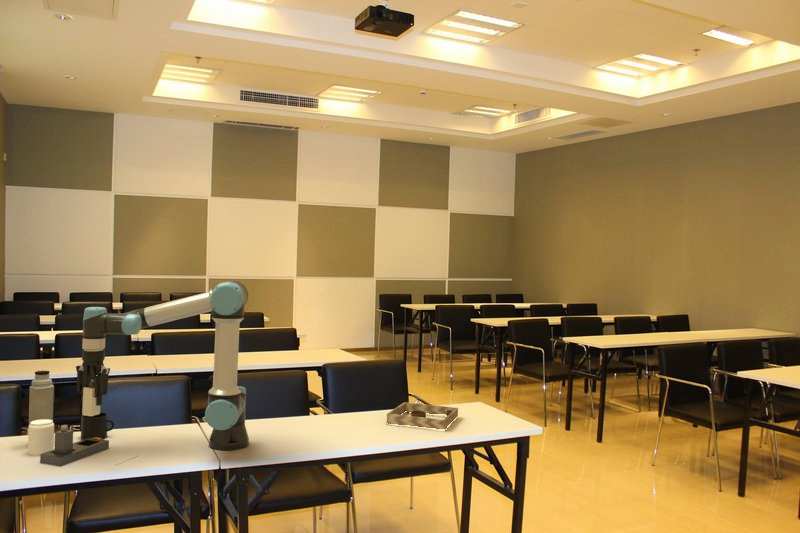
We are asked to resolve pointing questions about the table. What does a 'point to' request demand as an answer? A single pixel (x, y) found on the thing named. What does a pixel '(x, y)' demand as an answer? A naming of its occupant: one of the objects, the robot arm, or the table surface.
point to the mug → (95, 426)
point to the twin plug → (63, 441)
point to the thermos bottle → (41, 397)
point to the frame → (399, 419)
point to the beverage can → (40, 436)
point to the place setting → (424, 413)
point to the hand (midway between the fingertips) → (91, 413)
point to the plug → (88, 399)
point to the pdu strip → (75, 452)
